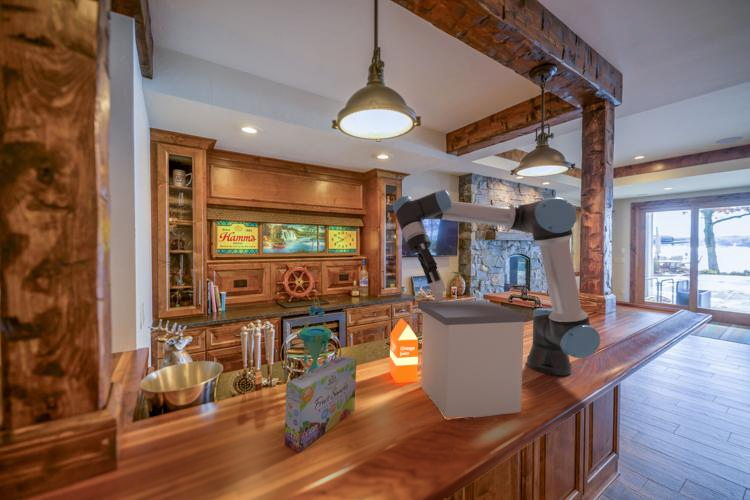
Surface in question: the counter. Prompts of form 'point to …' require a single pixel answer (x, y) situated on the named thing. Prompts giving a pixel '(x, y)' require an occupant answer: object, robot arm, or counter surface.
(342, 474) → the counter surface
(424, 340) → the under-counter cabinet
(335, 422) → the snack box
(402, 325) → the orange juice
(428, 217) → the robot arm
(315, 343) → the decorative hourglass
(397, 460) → the counter surface
